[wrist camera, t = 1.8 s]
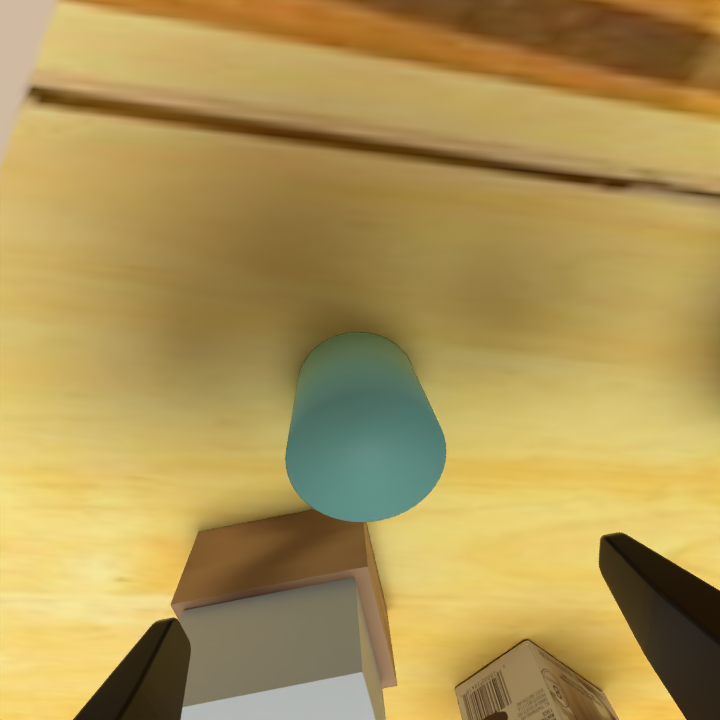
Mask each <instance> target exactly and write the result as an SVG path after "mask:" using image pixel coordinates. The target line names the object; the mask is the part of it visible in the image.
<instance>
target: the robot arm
mask: <svg viewBox="0 0 720 720" xmlns="http://www.w3.org/2000/svg"><path fill="white" fill-rule="evenodd" d="M599 568H600V571H601V574H602V576H603V578H604V580H605V581H606V583H607V585H608V587H609V589H610V591H611V593H612V595H613V596H614V598H615V600H616V602H617V604H618V606H619V608H620V610H621V612H622V613H623V615H624V617H625V619H626V621H627V623H628V625H629V627H630V628H631V630H632V632H633V634H634V636H635V638H636V640H637V642H638V643H639V645H640V647H641V649H642V651H643V652H644V654H645V656H646V657H647V659H648V661H649V662H650V664H651V665H652V667H653V669H654V670H655V672H656V673H657V675H658V676H659V678H660V679H661V681H662V683H663V684H664V686H665V687H666V689H667V690H668V692H669V693H670V695H671V696H672V698H673V699H674V701H675V703H676V704H677V706H678V707H679V709H680V710H681V712H682V713H683V715H684V716H685V718H686V719H687V720H720V591H719V590H718V589H716V588H714V587H713V586H711V585H709V584H708V583H706V582H704V581H703V580H701V579H699V578H698V577H696V576H694V575H693V574H691V573H690V572H688V571H686V570H685V569H683V568H681V567H680V566H678V565H676V564H675V563H673V562H671V561H670V560H668V559H666V558H665V557H663V556H661V555H660V554H658V553H656V552H655V551H653V550H651V549H650V548H648V547H646V546H645V545H643V544H641V543H640V542H638V541H636V540H635V539H633V538H631V537H630V536H628V535H626V534H624V533H620V532H619V533H612V534H607V535H603V536H602V537H601V539H600V550H599ZM190 655H191V645H190V641H189V639H188V637H187V635H186V633H185V631H184V630H183V628H182V626H181V624H180V622H179V621H178V619H176V618H168V619H163V620H159V621H156V622H155V623H154V624H153V625H152V626H151V627H150V628H149V629H148V630H147V632H146V633H145V634H144V635H143V636H142V638H141V639H140V640H139V641H138V642H137V644H136V645H135V646H134V647H133V648H132V650H131V651H130V652H129V653H128V654H127V655H126V657H125V658H124V659H123V660H122V661H121V663H120V664H119V665H118V666H117V667H116V669H115V670H114V671H113V672H112V673H111V675H110V676H109V677H108V678H107V679H106V681H105V682H104V683H103V684H102V685H101V687H100V688H99V689H98V690H97V691H96V693H95V694H94V695H93V696H92V697H91V699H90V700H89V701H88V702H87V703H86V705H85V706H84V707H83V708H82V709H81V711H80V712H79V713H78V714H77V715H76V717H75V718H74V719H73V720H181V715H182V708H183V701H184V695H185V688H186V682H187V675H188V669H189V662H190Z"/></svg>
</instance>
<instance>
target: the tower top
mask: <svg viewBox="0 0 720 720" xmlns="http://www.w3.org/2000/svg"><path fill="white" fill-rule="evenodd" d="M180 624H181V626H182V628H183V630H184V631H185V633H186V635H187V637H188V639H189V641H190V645H191V655H190V662H189V669H188V675H187V682H186V688H185V695H184V701H183V708H182V715H181V720H386V717H385V708H384V700H383V691H382V682H381V678H380V674H379V670H378V666H377V662H376V658H375V654H374V650H373V646H372V642H371V638H370V634H369V630H368V626H367V622H366V618H365V614H364V610H363V606H362V602H361V599H360V595H359V591H358V587H357V583H356V579H355V578H349V579H344V580H338V581H333V582H328V583H322V584H317V585H312V586H307V587H301V588H296V589H291V590H286V591H281V592H276V593H271V594H266V595H260V596H255V597H250V598H245V599H240V600H235V601H230V602H224V603H219V604H214V605H209V606H204V607H199V608H194V609H188V610H183V613H182V616H181V619H180Z"/></svg>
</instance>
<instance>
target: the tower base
mask: <svg viewBox="0 0 720 720" xmlns="http://www.w3.org/2000/svg"><path fill="white" fill-rule="evenodd" d="M349 578H355V579H356V583H357V587H358V591H359V595H360V599H361V602H362V606H363V610H364V614H365V618H366V622H367V626H368V630H369V634H370V638H371V642H372V646H373V650H374V654H375V658H376V662H377V666H378V670H379V674H380V678H381V682H382V688H387V687H393V686H397V680H396V673H395V666H394V658H393V651H392V644H391V637H390V629H389V622H388V615H387V609H386V605H385V600H384V596H383V592H382V587H381V583H380V579H379V575H378V570H377V566H376V562H375V558H374V553H373V549H372V545H371V541H370V536H369V532H368V528H367V523H366V522H351V521H344V520H340V519H336V518H332V517H330V516H327V515H325V514H323V513H321V512H319V511H317V510H315V509H314V510H309V511H303V512H298V513H293V514H288V515H283V516H278V517H273V518H268V519H263V520H257V521H252V522H247V523H242V524H237V525H232V526H227V527H222V528H216V529H211V530H206V531H201V532H198V535H197V537H196V540H195V542H194V545H193V548H192V550H191V553H190V555H189V558H188V561H187V563H186V566H185V568H184V571H183V574H182V576H181V579H180V581H179V584H178V587H177V589H176V592H175V594H174V597H173V600H172V602H171V607H172V608H173V610H174V612H175V614H176V616H177V618H178V619H179V621H180V619H181V616H182V613H183V610H188V609H194V608H199V607H204V606H209V605H214V604H219V603H224V602H230V601H235V600H240V599H245V598H250V597H255V596H260V595H266V594H271V593H276V592H281V591H286V590H291V589H296V588H301V587H307V586H312V585H317V584H322V583H328V582H333V581H338V580H344V579H349Z"/></svg>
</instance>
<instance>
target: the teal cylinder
mask: <svg viewBox="0 0 720 720" xmlns="http://www.w3.org/2000/svg"><path fill="white" fill-rule="evenodd" d="M285 459H286V469H287V473H288V477H289V479H290V482H291V484H292V486H293V487H294V489H295V491H296V492H297V493H298V495H299V496H300V497H301V498H302V499H303V500H304V501H305V502H306V503H307V504H308V505H310V506H311V507H312V508H314V509H315V510H317V511H319V512H321V513H323V514H325V515H327V516H330V517H332V518H336V519H340V520H344V521H351V522H372V521H378V520H383V519H387V518H391V517H393V516H396V515H399V514H401V513H403V512H405V511H407V510H409V509H410V508H412V507H414V506H415V505H417V504H418V503H419V502H420V501H422V500H423V499H424V498H425V497H426V496H427V495H428V494H429V493H430V492H431V490H432V489H433V488H434V487H435V485H436V483H437V482H438V480H439V478H440V476H441V474H442V471H443V468H444V465H445V459H446V443H445V438H444V435H443V432H442V429H441V427H440V425H439V423H438V421H437V418H436V416H435V414H434V412H433V410H432V408H431V406H430V403H429V401H428V399H427V397H426V395H425V393H424V391H423V388H422V386H421V384H420V382H419V380H418V378H417V376H416V373H415V371H414V369H413V367H412V365H411V363H410V361H409V359H408V357H407V356H406V355H405V353H404V352H403V351H402V350H401V349H400V348H399V347H398V346H397V345H395V344H394V343H393V342H391V341H390V340H388V339H386V338H384V337H381V336H379V335H376V334H371V333H365V332H351V333H344V334H341V335H337V336H335V337H332V338H330V339H328V340H326V341H324V342H323V343H321V344H320V345H319V346H317V347H316V348H315V349H314V350H313V351H312V352H311V353H310V354H309V356H308V357H307V358H306V360H305V361H304V363H303V365H302V367H301V370H300V373H299V377H298V382H297V388H296V394H295V400H294V406H293V412H292V418H291V424H290V430H289V436H288V442H287V448H286V458H285Z"/></svg>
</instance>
